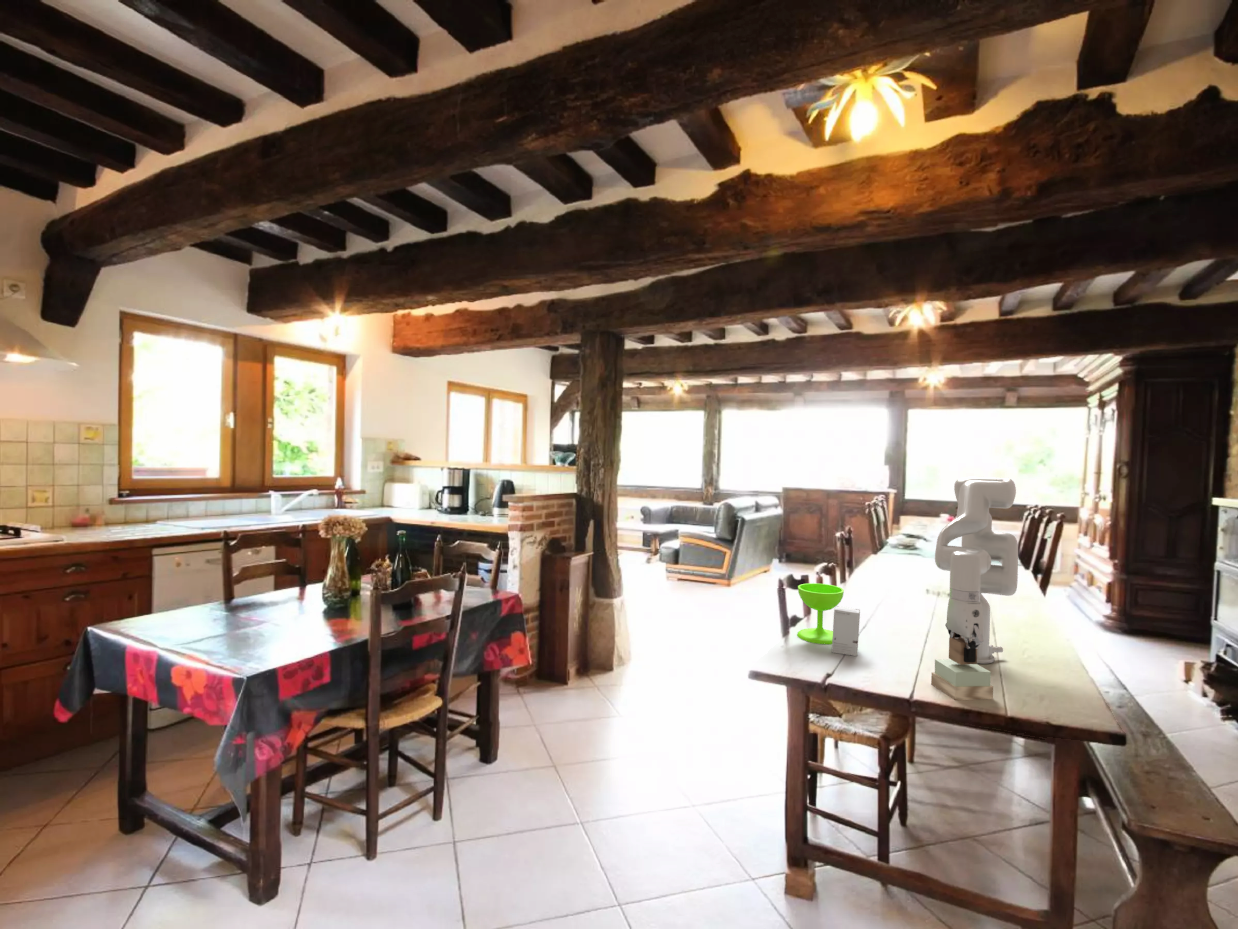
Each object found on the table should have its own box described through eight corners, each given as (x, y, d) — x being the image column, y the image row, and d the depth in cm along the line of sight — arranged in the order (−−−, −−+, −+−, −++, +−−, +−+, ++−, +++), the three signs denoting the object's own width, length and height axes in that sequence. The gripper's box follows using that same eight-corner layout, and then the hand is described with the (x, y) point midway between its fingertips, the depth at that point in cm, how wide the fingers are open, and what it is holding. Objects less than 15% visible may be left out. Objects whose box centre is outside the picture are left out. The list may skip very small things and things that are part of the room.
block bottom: (966, 684, 177) (966, 671, 177) (992, 700, 166) (993, 686, 166) (931, 685, 176) (931, 672, 176) (955, 701, 165) (955, 687, 165)
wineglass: (832, 630, 227) (833, 583, 226) (850, 644, 211) (851, 593, 210) (791, 630, 226) (791, 583, 226) (805, 644, 210) (806, 593, 210)
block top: (967, 672, 176) (968, 659, 176) (990, 686, 166) (990, 672, 166) (934, 673, 175) (935, 659, 175) (955, 686, 165) (955, 672, 165)
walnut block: (964, 657, 173) (965, 637, 173) (976, 664, 168) (977, 643, 168) (948, 658, 173) (949, 637, 173) (960, 664, 168) (960, 643, 168)
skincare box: (831, 653, 202) (832, 609, 201) (833, 647, 207) (834, 605, 207) (858, 656, 198) (859, 612, 198) (859, 651, 204) (860, 608, 203)
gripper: (998, 602, 162) (996, 669, 162) (957, 587, 179) (955, 647, 179) (972, 603, 161) (970, 670, 162) (933, 588, 178) (932, 648, 179)
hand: (962, 657), depth 170 cm, fingers closed on walnut block, 4 cm apart
